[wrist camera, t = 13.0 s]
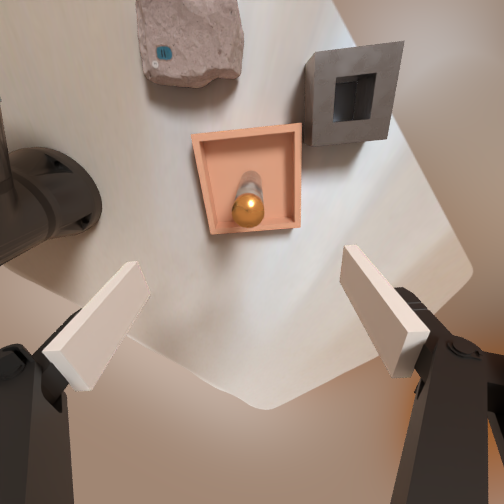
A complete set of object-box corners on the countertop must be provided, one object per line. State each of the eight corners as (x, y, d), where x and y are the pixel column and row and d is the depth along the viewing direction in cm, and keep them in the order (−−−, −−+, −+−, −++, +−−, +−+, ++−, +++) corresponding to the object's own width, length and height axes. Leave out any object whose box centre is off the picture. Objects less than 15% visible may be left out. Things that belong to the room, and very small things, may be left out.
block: (303, 143, 36) (311, 146, 31) (305, 64, 31) (315, 52, 26) (367, 137, 35) (386, 139, 30) (379, 55, 31) (404, 40, 25)
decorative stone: (152, 86, 33) (133, 78, 28) (141, -7, 28) (116, -36, 23) (242, 93, 33) (240, 87, 28) (246, 3, 29) (244, -24, 23)
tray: (214, 226, 43) (210, 234, 40) (196, 133, 36) (190, 134, 32) (297, 219, 42) (300, 227, 39) (297, 123, 35) (301, 122, 32)
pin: (241, 192, 39) (234, 229, 26) (239, 171, 38) (229, 198, 24) (262, 191, 39) (265, 226, 25) (260, 169, 38) (263, 195, 24)
